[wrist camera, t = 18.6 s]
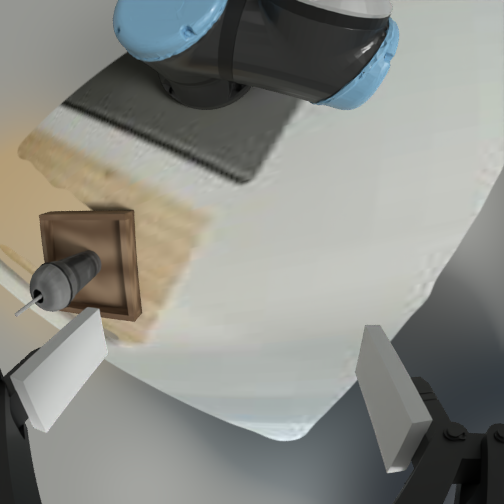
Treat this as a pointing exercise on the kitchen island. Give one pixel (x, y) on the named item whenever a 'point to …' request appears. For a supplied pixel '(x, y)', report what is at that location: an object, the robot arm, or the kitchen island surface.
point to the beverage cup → (62, 280)
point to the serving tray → (109, 251)
